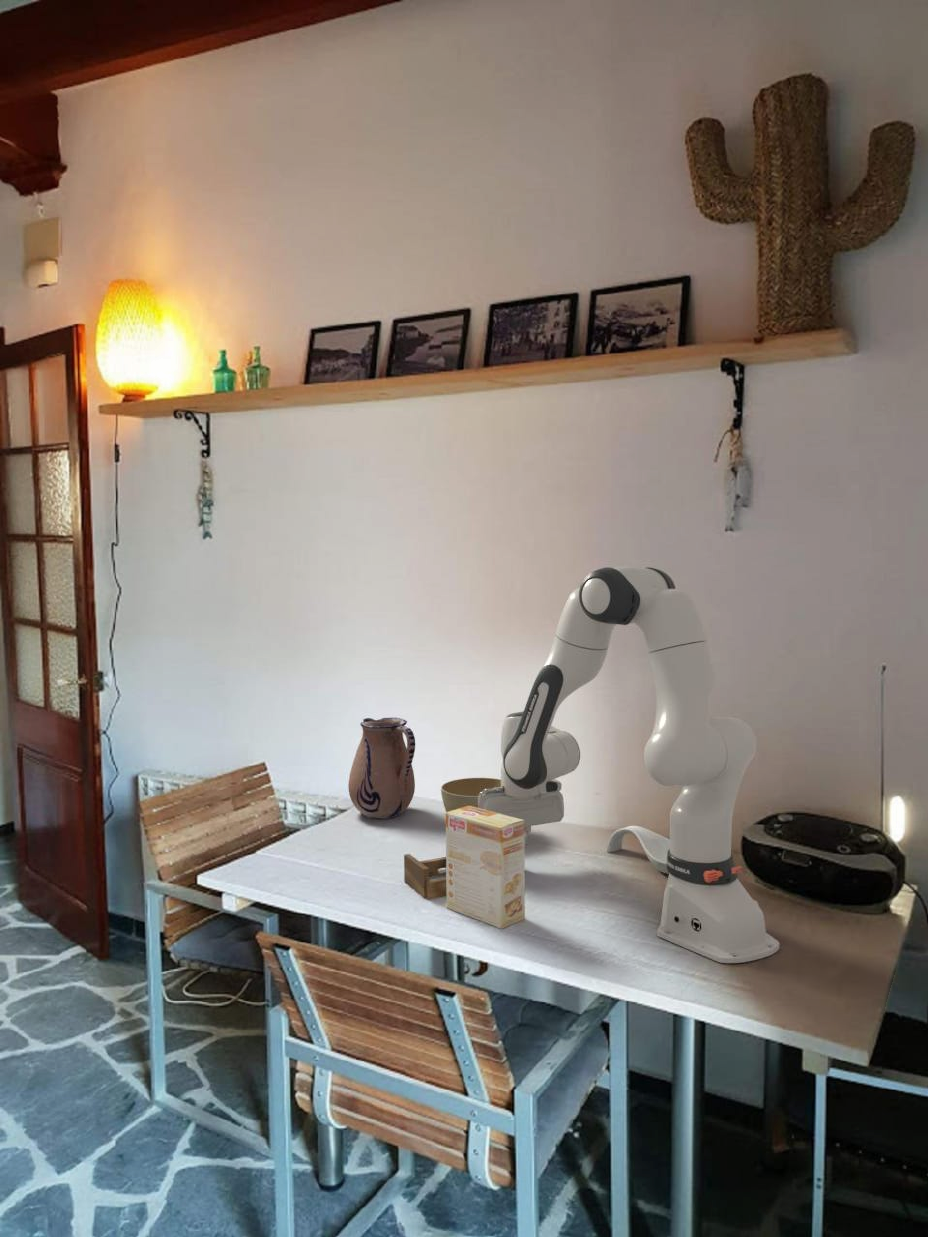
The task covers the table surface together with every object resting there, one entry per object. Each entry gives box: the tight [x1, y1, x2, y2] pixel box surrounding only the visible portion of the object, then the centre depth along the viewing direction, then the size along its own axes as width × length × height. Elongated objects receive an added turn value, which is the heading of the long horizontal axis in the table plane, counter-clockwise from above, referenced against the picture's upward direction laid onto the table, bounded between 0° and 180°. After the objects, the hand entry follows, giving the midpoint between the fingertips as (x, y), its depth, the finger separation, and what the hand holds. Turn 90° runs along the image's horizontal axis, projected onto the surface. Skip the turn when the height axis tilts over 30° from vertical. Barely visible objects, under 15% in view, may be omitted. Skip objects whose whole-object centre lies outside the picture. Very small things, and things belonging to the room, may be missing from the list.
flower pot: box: [440, 777, 501, 813], centre depth 232 cm, size 18×18×12 cm
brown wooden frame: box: [403, 853, 447, 901], centre depth 201 cm, size 21×12×6 cm, turn 117°
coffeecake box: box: [445, 806, 526, 930], centre depth 183 cm, size 15×7×20 cm, turn 45°
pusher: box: [438, 868, 446, 874], centre depth 200 cm, size 5×9×5 cm, turn 27°
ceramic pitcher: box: [347, 717, 416, 820], centre depth 248 cm, size 18×21×25 cm
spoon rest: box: [606, 825, 670, 875], centre depth 211 cm, size 24×12×7 cm, turn 41°
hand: (520, 845), depth 208 cm, fingers closed
